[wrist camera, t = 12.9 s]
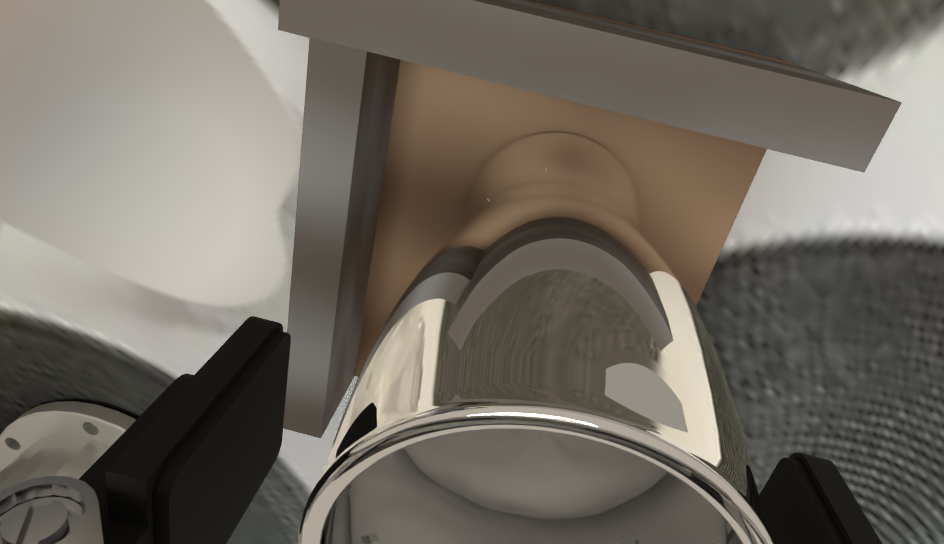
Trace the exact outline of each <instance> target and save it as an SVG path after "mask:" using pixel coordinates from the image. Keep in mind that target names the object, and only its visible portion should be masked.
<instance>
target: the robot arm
mask: <svg viewBox="0 0 944 544" xmlns="http://www.w3.org/2000/svg"><path fill="white" fill-rule="evenodd" d="M290 344H291V336H290V334H289V333H285V332H283V327H282V324H281V323H278V322H274V321H270V320H266V319H262V318H258V317H254V316H252V317H249V318H248V319H247V320H246V321H245V322H244V323H243V324H242V325H241V326H240V327H239V328H238V329H237V330H236V331H235V333H234V334H233V335H232V336H231V337H230V338H229V339H228V340H227V341H226V342H225V343H224V344H223V345H222V346H221V347H220V348H219V350H218V351H217V352H216V353H215V354H214V355H213V356H212V357H211V358H210V359H209V360H208V361H207V362H206V363H205V364H204V365H203V367H202V368H201V369H200V370H199V371H198V372H197V373H196V374H195V375H190V374H184V375H181V376H180V377H179V378H177V379H176V380H175V381H174V382H173V383H172V384H171V385H170V386H169V387H168V388H167V389H166V390H165V391H164V392H163V393H162V394H161V395H160V396H159V397H158V398H157V399H156V400H155V401H154V402H153V403H152V405H151V406H150V407H149V408H148V409H147V410H146V411H145V412H144V413H143V414H142V415H141V416H140V417H139V418H138V419H134V418H132V417H130V416H128V415H126V414H123V413H121V412H119V411H116V410H113V409H109V408H106V407H103V406H100V405H95V404H89V403H82V402H76V401H65V402H52V403H47V404H43V405H39V406H37V407H35V408H33V409H30V410H28V411H26V412H25V413H24V414H22V415H21V416H20V417H19V418H17V419H16V420H15V421H14V422H12V423H11V424H10V425H8V426H7V428H6V429H5V430H4V431H3V432H2V433H1V435H0V544H226V543H227V541H228V540H229V538H230V536H231V535H232V533H233V531H234V529H235V528H236V526H237V524H238V523H239V521H240V519H241V518H242V516H243V514H244V513H245V511H246V509H247V508H248V506H249V504H250V503H251V501H252V499H253V497H254V496H255V494H256V492H257V491H258V489H259V487H260V486H261V484H262V482H263V481H264V479H265V477H266V476H267V474H268V472H269V471H270V469H271V467H272V465H273V464H274V462H275V460H276V458H277V456H278V454H279V451H280V447H281V443H282V434H283V422H284V411H285V400H286V389H287V378H288V367H289V356H290ZM759 498H760V502H761V506H762V510H763V514H764V517H765V521H766V525H767V529H768V532H769V535H770V537H771V539H772V541H773V543H774V544H882V542H881V541H880V539H879V537H878V536H877V534H876V533H875V531H874V529H873V528H872V526H871V524H870V523H869V521H868V519H867V518H866V516H865V514H864V513H863V511H862V509H861V508H860V506H859V504H858V503H857V501H856V499H855V498H854V496H853V494H852V493H851V491H850V489H849V488H848V486H847V484H846V483H845V481H844V480H843V478H842V476H841V475H840V473H839V471H838V470H837V468H836V466H835V465H834V464H833V463H832V462H831V461H829V460H826V459H822V458H818V457H814V456H810V455H806V454H802V453H794V454H792V455H791V456H790V457H789V458H783V459H781V460H780V461H779V463H778V464H777V466H776V468H775V469H774V471H773V473H772V474H771V476H770V478H769V480H768V481H767V483H766V485H765V486H764V488H763V490H762V491H761V493H760V495H759Z"/></svg>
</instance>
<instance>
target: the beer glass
mask: <svg viewBox="0 0 944 544" xmlns="http://www.w3.org/2000/svg"><path fill="white" fill-rule="evenodd" d="M639 223H640V205H639V199H638V194H637V191H636V187H635V185H634V182H633V180H632V178H631V176H630V174H629V173H628V171H627V170H626V168H625V167H624V165H623V164H622V163H621V162H620V161H619V159H618V158H617V157H616V156H615V155H613V154H612V153H611V152H610V151H609V150H607V149H606V148H604V147H603V146H601V145H600V144H598V143H596V142H594V141H592V140H590V139H587V138H585V137H582V136H578V135H574V134H569V133H561V132H548V133H539V134H534V135H530V136H527V137H524V138H521V139H519V140H517V141H514V142H513V143H511V144H509V145H507V146H506V147H504V148H503V149H501V150H500V151H498V152H497V153H496V154H495V155H494V156H493V157H492V158H491V159H490V160H489V161H488V162H487V163H486V164H485V165H484V167H483V168H482V170H481V171H480V173H479V175H478V177H477V178H476V180H475V183H474V185H473V188H472V191H471V194H470V198H469V202H468V208H467V222H466V223H465V224H464V225H463V226H462V227H461V228H459V229H458V230H457V231H456V232H455V233H454V234H453V235H452V236H451V237H450V238H449V239H448V240H446V241H445V242H444V243H443V244H442V245H441V246H440V247H439V248H438V249H437V250H436V252H435V253H434V254H433V255H432V256H431V257H430V258H429V260H428V261H427V262H426V263H425V264H424V265H423V267H422V268H421V269H420V270H419V271H418V272H417V273H416V275H415V276H414V277H413V278H412V280H411V281H410V282H409V284H408V285H407V287H406V288H405V290H404V291H403V293H402V295H401V296H400V298H399V300H398V301H397V303H396V305H395V306H394V308H393V310H392V311H391V313H390V314H389V316H388V318H387V319H386V321H385V323H384V325H383V326H382V328H381V330H380V332H379V334H378V336H377V339H376V341H375V343H374V345H373V347H372V349H371V351H370V353H369V355H368V358H367V360H366V362H365V364H364V366H363V368H362V370H361V373H360V375H359V377H358V380H357V382H356V385H355V387H354V390H353V392H352V395H351V397H350V400H349V403H348V405H347V408H346V410H345V413H344V415H343V418H342V420H341V423H340V426H339V429H338V431H337V434H336V437H335V440H334V442H333V445H332V448H331V451H330V453H329V456H328V459H327V461H326V464H325V466H324V469H323V471H322V474H321V476H320V479H319V481H318V483H317V485H316V486H315V488H314V489H313V491H312V493H311V495H310V497H309V499H308V501H307V503H306V506H305V508H304V511H303V514H302V518H301V522H300V527H299V533H298V544H774V543H773V541H772V539H771V537H770V535H769V532H768V529H767V525H766V521H765V517H764V514H763V510H762V506H761V502H760V498H759V494H758V490H757V486H756V481H755V477H754V473H753V469H752V465H751V461H750V457H749V453H748V450H747V446H746V442H745V439H744V435H743V431H742V428H741V424H740V420H739V417H738V413H737V409H736V406H735V403H734V400H733V397H732V394H731V391H730V388H729V386H728V383H727V380H726V377H725V374H724V371H723V368H722V365H721V362H720V359H719V357H718V354H717V352H716V349H715V347H714V345H713V343H712V341H711V339H710V336H709V334H708V332H707V330H706V328H705V326H704V324H703V321H702V319H701V317H700V315H699V313H698V311H697V309H696V307H695V305H694V303H693V301H692V299H691V298H690V296H689V295H688V293H687V292H686V290H685V289H684V287H683V286H682V285H681V283H680V282H679V280H678V279H677V277H676V276H675V275H674V273H673V272H672V270H671V269H670V267H669V266H668V265H667V263H666V262H665V261H664V259H663V258H662V257H661V256H660V255H659V254H658V252H657V251H656V250H655V249H654V248H653V247H652V246H651V244H650V243H649V242H648V241H647V240H646V239H645V238H644V237H643V235H642V234H641V233H640V232H639Z"/></svg>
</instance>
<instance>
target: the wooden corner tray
mask: <svg viewBox="0 0 944 544" xmlns="http://www.w3.org/2000/svg"><path fill="white" fill-rule="evenodd" d="M278 30H281V31H285V32H289V33H293V34H297V35H302V36H306V37H310V41H309V54H308V67H307V80H306V93H305V107H304V120H303V133H302V146H301V159H300V172H299V185H298V198H297V212H296V225H295V238H294V251H293V264H292V277H291V290H290V304H289V317H288V330H287V333H289V334H290V336H291V344H290V356H289V367H288V378H287V389H286V400H285V411H284V422H283V428H284V429H288V430H292V431H296V432H299V433H303V434H307V435H311V436H314V437H318V438H321V437H322V435H323V433H324V431H325V429H326V428H327V426H328V424H329V422H330V420H331V418H332V416H333V415H334V413H335V411H336V409H337V407H338V405H339V404H340V402H341V400H342V398H343V396H344V394H345V392H346V391H347V389H348V387H349V385H350V383H351V381H352V379H353V378H354V376H358V377H359V375H360V373H361V370H362V368H363V366H364V364H365V362H366V360H367V358H368V355H369V353H370V351H371V349H372V347H373V345H374V343H375V341H376V339H377V336H378V334H379V332H380V330H381V328H382V326H383V325H384V323H385V321H386V319H387V318H388V316H389V314H390V313H391V311H392V310H393V308H394V306H395V305H396V303H397V301H398V300H399V298H400V296H401V295H402V293H403V291H404V290H405V288H406V287H407V285H408V284H409V282H410V281H411V280H412V278H413V277H414V276H415V275H416V273H417V272H418V271H419V270H420V269H421V268H422V267H423V265H424V264H425V263H426V262H427V261H428V260H429V258H430V257H431V256H432V255H433V254H434V253H435V252H436V250H437V249H438V248H439V247H440V246H441V245H442V244H443V243H444V242H445V241H446V240H448V239H449V238H450V237H451V236H452V235H453V234H454V233H455V232H456V231H457V230H458V229H459V228H461V227H462V226H463V225H464V224H465V223H466V222H467V208H468V202H469V198H470V194H471V191H472V188H473V185H474V183H475V180H476V178H477V177H478V175H479V173H480V171H481V170H482V168H483V167H484V165H485V164H486V163H487V162H488V161H489V160H490V159H491V158H492V157H493V156H494V155H495V154H496V153H497V152H498V151H500V150H501V149H503V148H504V147H506V146H507V145H509V144H511V143H513V142H514V141H517V140H519V139H521V138H524V137H527V136H530V135H534V134H539V133H548V132H561V133H569V134H574V135H578V136H582V137H585V138H587V139H590V140H592V141H594V142H596V143H598V144H600V145H601V146H603V147H604V148H606V149H607V150H609V151H610V152H611V153H612V154H613V155H615V156H616V157H617V158H618V159H619V161H620V162H621V163H622V164H623V165H624V167H625V168H626V170H627V171H628V173H629V174H630V176H631V178H632V180H633V182H634V185H635V187H636V191H637V194H638V199H639V205H640V223H639V232H640V233H641V234H642V235H643V237H644V238H645V239H646V240H647V241H648V242H649V243H650V244H651V246H652V247H653V248H654V249H655V250H656V251H657V252H658V254H659V255H660V256H661V257H662V258H663V259H664V261H665V262H666V263H667V265H668V266H669V267H670V269H671V270H672V272H673V273H674V275H675V276H676V277H677V279H678V280H679V282H680V283H681V285H682V286H683V287H684V289H685V290H686V292H687V293H688V295H689V296H690V298H691V299H692V301H693V303H694V305H695V307H696V305H697V303H698V301H699V299H700V296H701V294H702V292H703V290H704V288H705V285H706V283H707V281H708V279H709V276H710V274H711V272H712V270H713V267H714V265H715V263H716V261H717V259H718V256H719V254H720V252H721V250H722V247H723V245H724V243H725V241H726V239H727V236H728V234H729V232H730V230H731V227H732V225H733V223H734V221H735V218H736V216H737V214H738V212H739V210H740V207H741V205H742V203H743V201H744V198H745V196H746V194H747V192H748V190H749V187H750V185H751V183H752V181H753V178H754V176H755V174H756V172H757V169H758V167H759V165H760V163H761V161H762V158H763V156H764V154H765V152H766V149H770V150H774V151H778V152H782V153H786V154H791V155H795V156H799V157H803V158H807V159H811V160H815V161H819V162H823V163H828V164H832V165H836V166H840V167H844V168H848V169H852V170H856V171H860V172H865V170H866V168H867V166H868V164H869V162H870V161H871V159H872V157H873V155H874V153H875V151H876V149H877V148H878V146H879V144H880V142H881V140H882V138H883V136H884V135H885V133H886V131H887V129H888V127H889V125H890V123H891V122H892V120H893V118H894V116H895V114H896V112H897V110H898V108H899V107H900V105H901V102H898V101H896V100H893V99H890V98H887V97H884V96H882V95H879V94H876V93H873V92H871V91H868V90H865V89H862V88H859V87H857V86H854V85H851V84H848V83H845V82H843V81H840V80H837V79H834V78H831V77H829V76H826V75H823V74H820V73H817V72H815V71H812V70H809V69H806V68H804V67H801V66H798V65H795V64H792V63H790V62H787V61H784V60H781V59H776V58H772V57H768V56H764V55H760V54H755V53H751V52H747V51H743V50H739V49H734V48H730V47H726V46H722V45H718V44H713V43H709V42H705V41H701V40H697V39H692V38H688V37H684V36H680V35H675V34H671V33H667V32H663V31H659V30H654V29H650V28H646V27H642V26H638V25H633V24H629V23H625V22H621V21H617V20H612V19H608V18H604V17H600V16H596V15H591V14H587V13H583V12H579V11H575V10H570V9H566V8H562V7H558V6H554V5H549V4H545V3H541V2H537V1H532V0H280V6H279V25H278Z"/></svg>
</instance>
